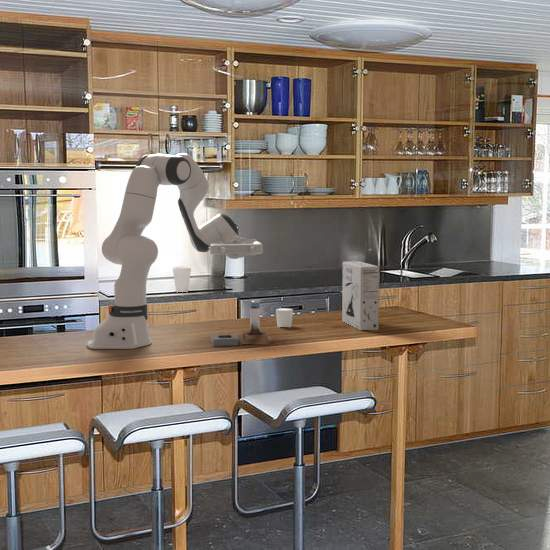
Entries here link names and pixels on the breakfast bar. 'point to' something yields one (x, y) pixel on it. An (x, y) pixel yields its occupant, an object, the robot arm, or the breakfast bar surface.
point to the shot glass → (284, 317)
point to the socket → (225, 340)
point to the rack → (255, 338)
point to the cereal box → (360, 295)
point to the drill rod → (254, 317)
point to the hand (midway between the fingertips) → (238, 250)
